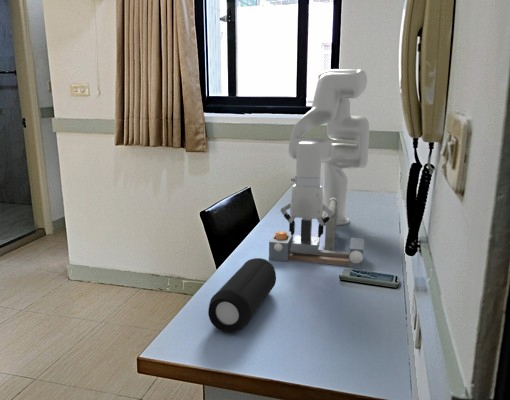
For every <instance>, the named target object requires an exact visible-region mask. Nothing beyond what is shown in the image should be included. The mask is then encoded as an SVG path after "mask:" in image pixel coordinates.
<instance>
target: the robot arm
mask: <svg viewBox="0 0 510 400" xmlns="http://www.w3.org/2000/svg"><path fill="white" fill-rule="evenodd" d="M317 78H318V80H317V83H316V88H315V92H314V97H313V101H312V105H311V109H310V110H308V111H307V112H306V113H305V114H304V115H303V116H301V117H300V118H299V120H298V121H297V122H296V123H295V124H294V126H293V128H292V131H291V134H290V137H289V138H290V139H289V143H288V154H289V157H290V158H291V159H292V160H294V161H295V163H296V165H295V166H296V167H295V175H294V176H291V178H290V179H291V180H290V181H291V182H294V183H295V184H293V185H292V189H291V194H290V195H291V196H290V203H288V204H286V205H284V206H283V207H281V208H280V213H281V214H282V215H283V217H284V218H285V220H287V222H288V223H289V228H288V233H291V235H293V236H295V232H296V231H295V230H296V228H295V227H296V222H295V219H297V218H298V219H302V218H307V219H312V220H317V221H318V223H319V224H318V228H317V229H318V230H317V231H318V232H317V237H319V238H320V239H321V236H322V235H324V229H325V228H324V226H325V225H326V222H327V221H329V219H330V218H331V217H332V216H333V214H334V212H333V211H332V210H331V209H329V208H328V206H329V200H330V198H333V197H334V198H336V199H337V217H336V226H345V225H348V224H350V218H349V217H348V216H347V202H348V201H347V200H348V197H347V196H348V185H349V183H348V181H349V179H348V176H347V174H346V173H345V171H344V169H348V170H349V169H350V170H363V169H365V168H366V166H367V164H368V161H369V145H370V144H369V143H370V122H369V119H368V118H367V117H366V116H362V115H351V112H350V111H351V100H350V99H357V98H359V97H360V96H361V95H362V94H363V93H364V92H365V90H366V88H367V84H368V76H367V74H366V71H365V70H364V69H359V68H358V69H357V68H355V69H354V68H349V69H347V68H346V69H345V68H343V69H342V68H339V69H338V68H333V69H332V68H331V69H330V68H328V69H325V70H322V71H320V72H319V74H318V76H317ZM322 125H326V134H327V137H328V138H329V139H330V140H329V139H328V138H322V137H321V138H319V137H304V135H305V134H306V133H307V132H308V131H310V130H312V129H315V128H317V127H320V126H322ZM331 140H334V141H346V142H355V143H352V144H351V143H339V142H334V143H333V142H332V141H331ZM322 165H323V180H322V181H323V184H322V185H321V173H322V172H321V171H322ZM288 210H289V213H288V212H287V211H288ZM326 212H327V213H328V215H327V214H326V215H325V216H324V214H325V213H326ZM323 216H324V219H323ZM338 216H339V217H338Z"/></svg>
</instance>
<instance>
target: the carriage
mask: <svg viewBox="0 0 510 400" xmlns="http://www.w3.org/2000/svg"><path fill="white" fill-rule="evenodd" d="M312 223H313V219H307V218H301V222H300V235H298V234H296V235H295V234H294V236H293V241H292V247H291V252H295V253H307V254H317V252H318V249H319V250H320V242H321V241H320V240H321V237H320V238H319V237H318V236H312V225H313V224H312Z"/></svg>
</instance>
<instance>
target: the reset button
mask: <svg viewBox="0 0 510 400" xmlns="http://www.w3.org/2000/svg"><path fill="white" fill-rule="evenodd" d="M275 232H276V239H278V240H287V233H288V232H286V231H283V230H281V231H280V230H279V231H275Z"/></svg>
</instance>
